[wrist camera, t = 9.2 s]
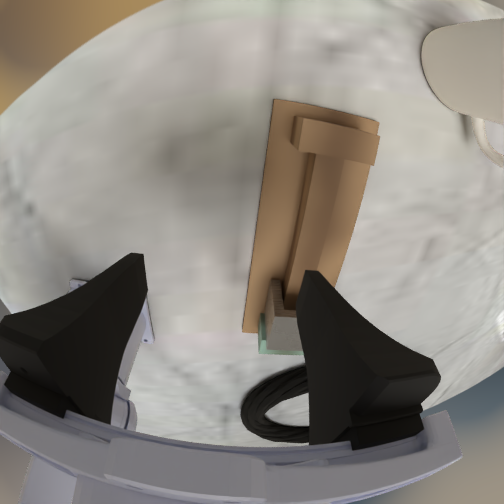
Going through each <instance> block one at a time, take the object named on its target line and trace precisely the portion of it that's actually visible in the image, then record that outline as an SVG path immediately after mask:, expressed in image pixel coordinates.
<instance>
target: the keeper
mask: <svg viewBox="0 0 504 504" xmlns="http://www.w3.org/2000/svg"><path fill="white" fill-rule="evenodd" d="M264 316H265V333H266V350H285V351H303V349H302V344H301V340H300V335H299V330H298V325H297V317H296V311H295V310H284V305H283V298H282V291H281V284H280V280H272V279H271V281H270V286H269V292H268V297H267V302H266V307H265V312H264Z"/></svg>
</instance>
